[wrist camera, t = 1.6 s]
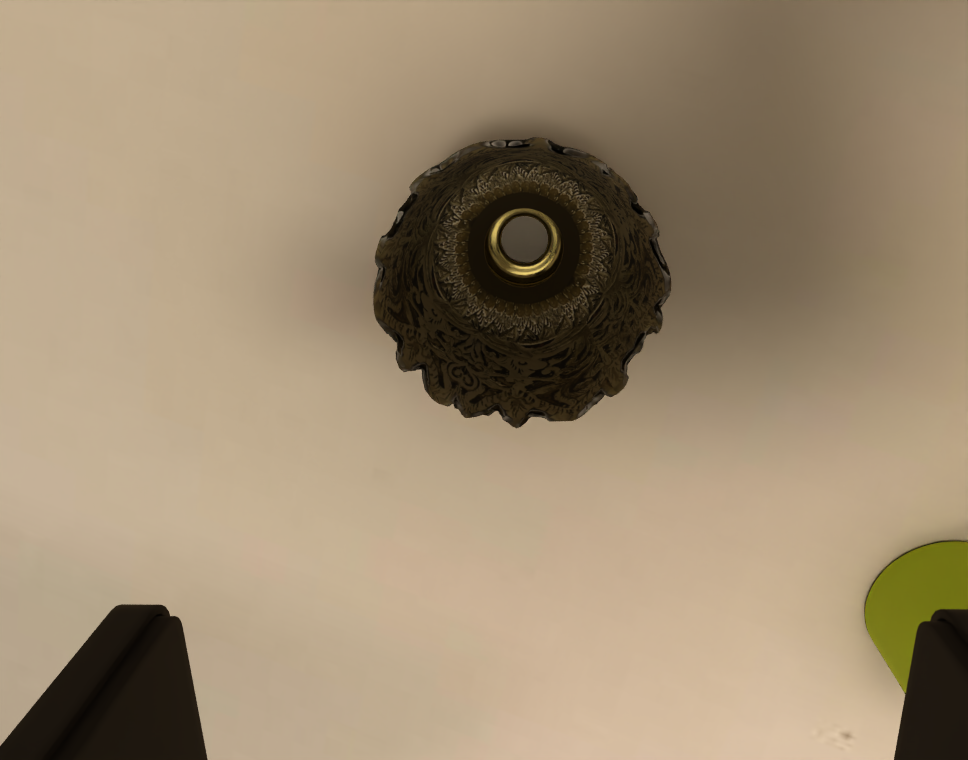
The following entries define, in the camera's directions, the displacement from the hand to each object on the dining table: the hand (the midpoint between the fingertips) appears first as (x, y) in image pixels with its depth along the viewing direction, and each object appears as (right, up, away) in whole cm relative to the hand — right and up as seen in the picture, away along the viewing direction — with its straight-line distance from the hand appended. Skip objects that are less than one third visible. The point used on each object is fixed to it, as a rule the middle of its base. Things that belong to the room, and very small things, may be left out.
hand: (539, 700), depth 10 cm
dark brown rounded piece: (+1, +9, +17) cm, 20 cm away
